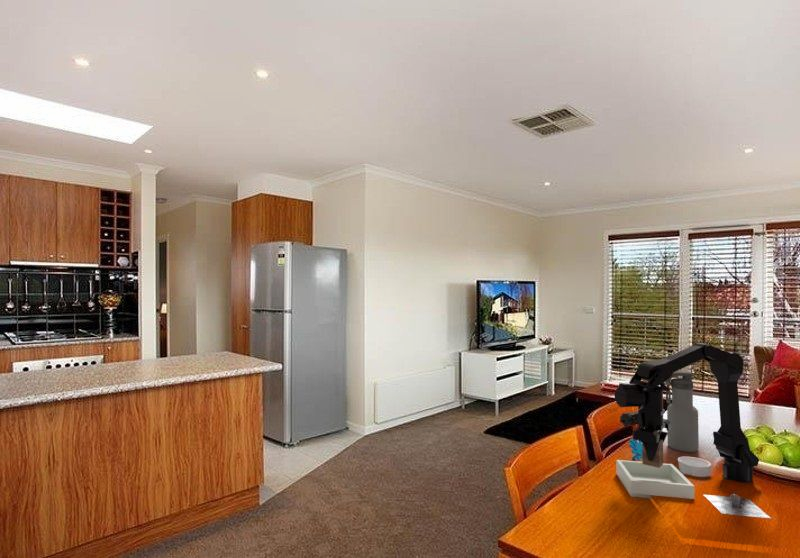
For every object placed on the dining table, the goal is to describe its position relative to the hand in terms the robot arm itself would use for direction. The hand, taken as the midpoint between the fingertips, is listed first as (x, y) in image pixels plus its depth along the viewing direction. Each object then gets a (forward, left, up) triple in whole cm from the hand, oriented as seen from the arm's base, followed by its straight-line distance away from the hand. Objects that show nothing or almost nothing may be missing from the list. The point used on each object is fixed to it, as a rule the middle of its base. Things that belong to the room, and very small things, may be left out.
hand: (652, 458), depth 133 cm
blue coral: (-3, -21, -9) cm, 23 cm away
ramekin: (-16, -13, -9) cm, 22 cm away
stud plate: (-17, +10, -8) cm, 21 cm away
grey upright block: (0, 0, -2) cm, 2 cm away
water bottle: (-22, -39, -9) cm, 46 cm away
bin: (0, 0, -8) cm, 8 cm away
